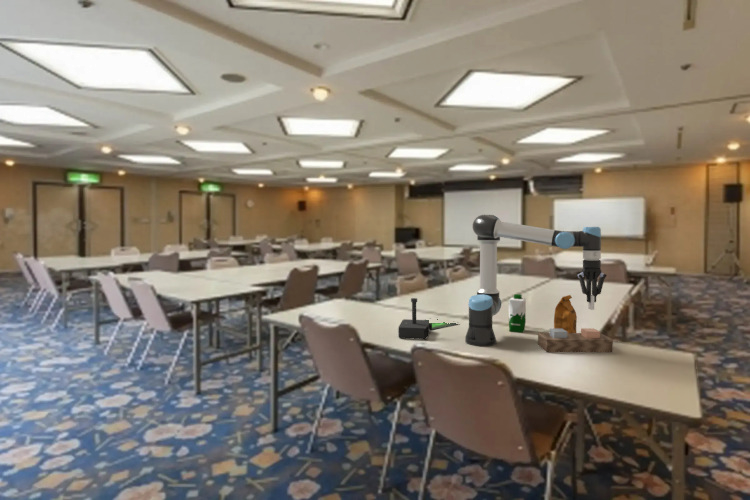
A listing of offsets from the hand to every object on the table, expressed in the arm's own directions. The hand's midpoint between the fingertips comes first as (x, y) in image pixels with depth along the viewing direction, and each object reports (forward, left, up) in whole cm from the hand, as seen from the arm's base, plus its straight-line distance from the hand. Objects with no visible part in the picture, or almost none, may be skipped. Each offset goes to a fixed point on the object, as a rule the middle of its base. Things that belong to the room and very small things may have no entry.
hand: (591, 309), depth 199 cm
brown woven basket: (-8, 0, -19) cm, 21 cm away
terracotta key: (0, 0, -15) cm, 15 cm away
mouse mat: (-70, +51, -20) cm, 89 cm away
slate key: (-15, 0, -15) cm, 21 cm away
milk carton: (-25, +34, -19) cm, 46 cm away
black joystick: (-82, +26, -20) cm, 88 cm away
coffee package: (-4, +20, -19) cm, 28 cm away
